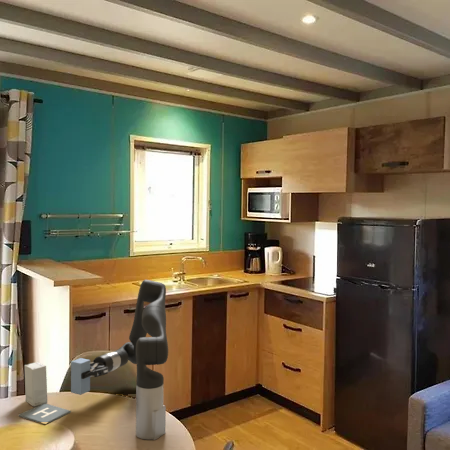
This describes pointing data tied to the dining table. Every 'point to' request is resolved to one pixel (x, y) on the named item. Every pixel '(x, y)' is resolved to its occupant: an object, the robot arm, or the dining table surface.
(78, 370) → the blue block
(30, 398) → the skincare box
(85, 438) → the dining table surface
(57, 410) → the letter mat
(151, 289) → the robot arm
